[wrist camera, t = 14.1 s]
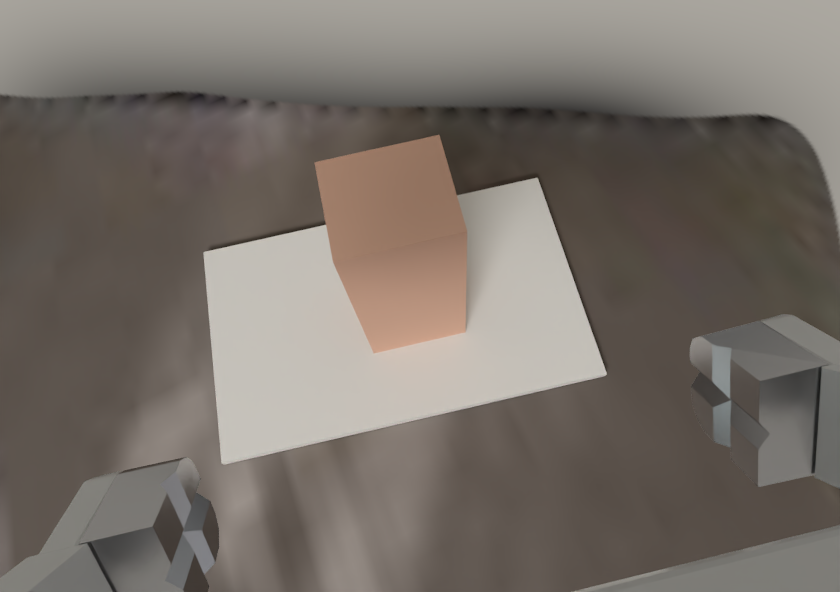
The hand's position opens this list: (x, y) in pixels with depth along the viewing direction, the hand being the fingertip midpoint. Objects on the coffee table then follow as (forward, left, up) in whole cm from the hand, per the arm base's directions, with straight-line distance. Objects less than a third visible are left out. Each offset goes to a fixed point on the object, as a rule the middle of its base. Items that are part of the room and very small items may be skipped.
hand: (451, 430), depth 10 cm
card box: (0, +10, -18) cm, 20 cm away
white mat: (-1, +10, -18) cm, 21 cm away
